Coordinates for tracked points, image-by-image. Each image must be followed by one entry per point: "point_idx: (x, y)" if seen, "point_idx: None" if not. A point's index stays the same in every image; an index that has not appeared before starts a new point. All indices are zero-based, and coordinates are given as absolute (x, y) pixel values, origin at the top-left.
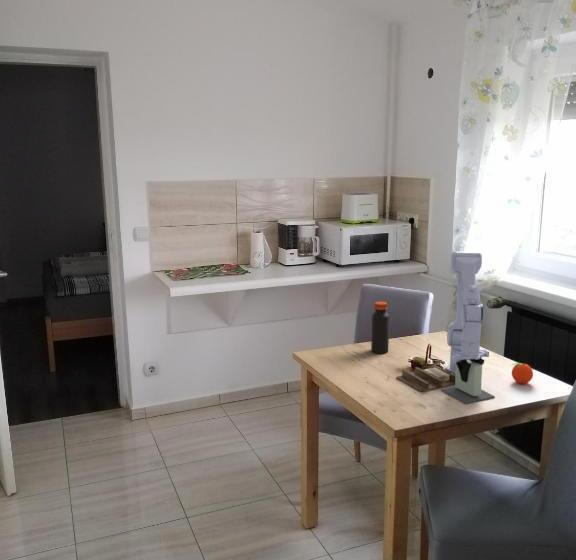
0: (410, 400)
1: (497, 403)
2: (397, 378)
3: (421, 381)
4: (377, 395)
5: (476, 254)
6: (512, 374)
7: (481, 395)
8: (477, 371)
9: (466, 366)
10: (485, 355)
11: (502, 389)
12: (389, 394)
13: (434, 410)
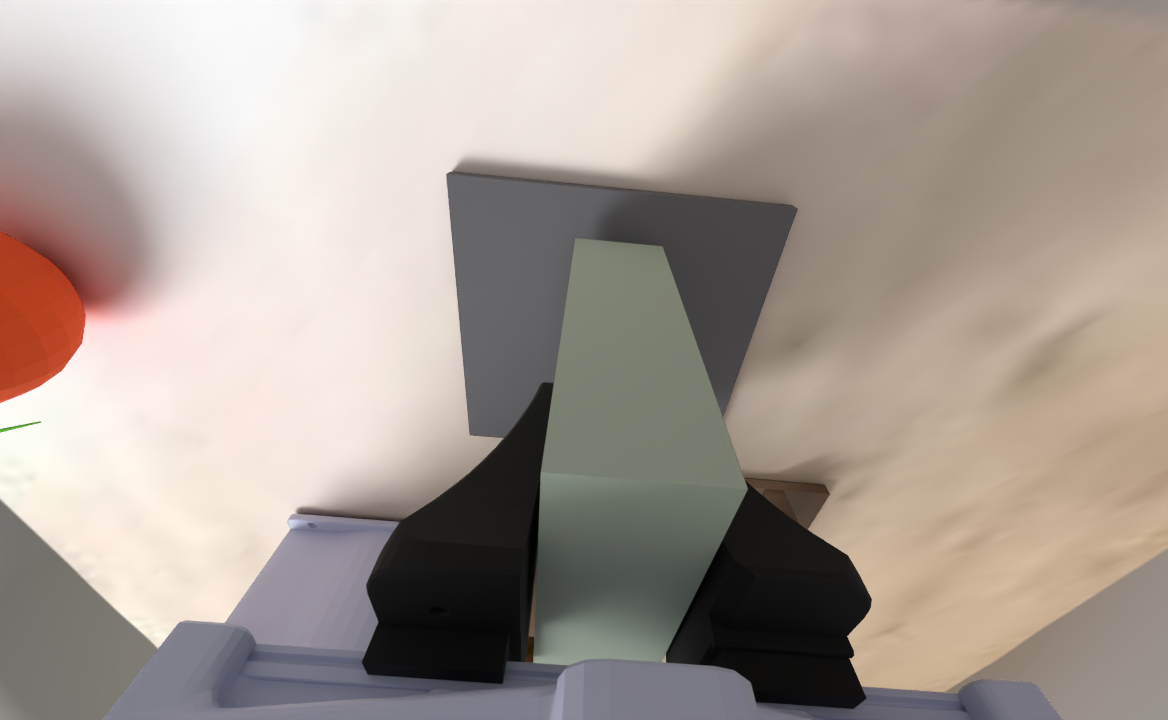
0: (992, 443)
1: (519, 41)
2: None
3: None
4: (1027, 548)
5: None
6: (54, 350)
7: (547, 250)
8: (654, 399)
9: (821, 552)
10: (237, 668)
11: (277, 264)
12: (973, 532)
13: (1094, 255)
